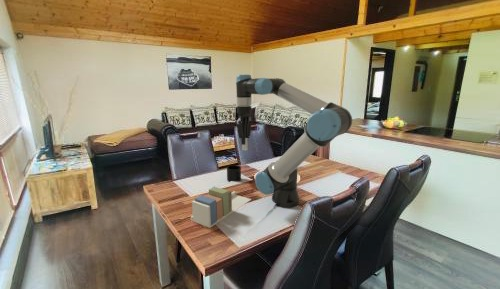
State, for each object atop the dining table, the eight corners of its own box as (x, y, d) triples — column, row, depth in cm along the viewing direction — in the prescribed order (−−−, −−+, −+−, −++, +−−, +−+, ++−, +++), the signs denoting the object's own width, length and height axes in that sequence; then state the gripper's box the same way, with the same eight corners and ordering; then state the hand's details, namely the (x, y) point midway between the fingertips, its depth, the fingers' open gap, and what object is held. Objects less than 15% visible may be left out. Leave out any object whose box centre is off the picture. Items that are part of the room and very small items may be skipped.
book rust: (222, 216, 122) (222, 198, 120) (217, 220, 119) (216, 201, 117) (210, 212, 127) (209, 194, 124) (204, 215, 123) (203, 197, 121)
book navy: (217, 221, 118) (216, 199, 116) (210, 225, 115) (209, 203, 112) (202, 216, 123) (201, 195, 121) (196, 220, 120) (194, 198, 117)
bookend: (231, 210, 128) (231, 192, 126) (228, 212, 126) (227, 194, 124) (218, 205, 133) (217, 188, 131) (214, 208, 131) (213, 190, 128)
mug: (234, 185, 164) (234, 171, 161) (224, 179, 173) (224, 167, 170) (246, 181, 169) (246, 168, 167) (235, 176, 178) (235, 164, 176)
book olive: (228, 213, 126) (228, 190, 123) (223, 216, 123) (223, 193, 120) (215, 208, 131) (214, 186, 128) (209, 211, 127) (208, 189, 125)
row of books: (251, 201, 141) (251, 182, 138) (210, 230, 113) (208, 207, 111) (234, 196, 147) (233, 178, 145) (191, 222, 120) (189, 200, 117)
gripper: (245, 104, 138) (245, 146, 143) (230, 106, 127) (231, 151, 132) (256, 105, 134) (257, 148, 139) (243, 107, 123) (243, 153, 129)
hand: (244, 150), depth 136 cm, fingers closed
